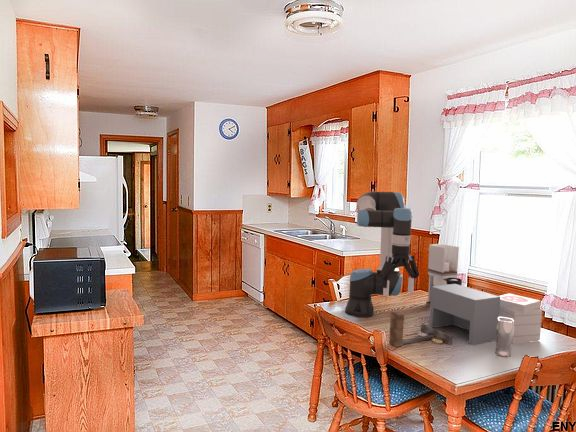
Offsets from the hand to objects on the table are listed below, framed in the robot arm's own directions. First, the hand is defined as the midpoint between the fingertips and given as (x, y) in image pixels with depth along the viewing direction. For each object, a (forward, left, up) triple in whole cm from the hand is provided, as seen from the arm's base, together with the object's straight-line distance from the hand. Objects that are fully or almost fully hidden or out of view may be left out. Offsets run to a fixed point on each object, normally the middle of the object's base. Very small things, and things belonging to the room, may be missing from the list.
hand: (398, 293), depth 196 cm
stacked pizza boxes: (+8, +60, -23) cm, 65 cm away
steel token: (-4, +20, -23) cm, 31 cm away
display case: (-37, +64, -23) cm, 77 cm away
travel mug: (-21, +56, -23) cm, 64 cm away
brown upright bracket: (0, +11, -22) cm, 25 cm away
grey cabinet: (0, +40, -23) cm, 46 cm away
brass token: (+4, +20, -23) cm, 31 cm away
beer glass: (+26, +35, -23) cm, 49 cm away
